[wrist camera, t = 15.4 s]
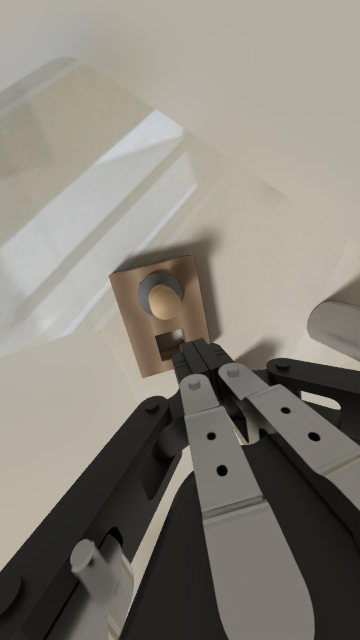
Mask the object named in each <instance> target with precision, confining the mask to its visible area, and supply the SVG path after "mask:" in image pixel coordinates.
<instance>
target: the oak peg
mask: <svg viewBox="0 0 360 640" xmlns="http://www.w3.org/2000/svg"><path fill="white" fill-rule="evenodd" d="M138 301H139V304H140V306H141V307H142V309H143V310H144V311H145V312H146V313H148V314H150V315H152V316H155V317H157V318H159V319H162V320H168V319H171V318H173V317H175V316H176V315H177V314H178V312H179V311H180V308H181V301H182V289H181V286H180V284H179V282H178V281H177V280H176V279H175V278H174V277H172V276H171V275H169V274H166V273H161V272H158V273H153V274H150V275H148V276H147V277H146V278H145V279H144V280H143V281H142V282H141V284H140V286H139V289H138Z"/></svg>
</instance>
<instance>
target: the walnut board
mask: <svg viewBox="0 0 360 640" xmlns="http://www.w3.org/2000/svg"><path fill="white" fill-rule="evenodd" d="M158 272H161V273H166V274H169V275H171V276H172V277H174V278H175V279H176V280H177V281H178V282H179V284H180V286H181V289H182V301H181V308H180V311H179V312H178V314H177V315H176V316H175V317H173V318H171V319H168V320H162V319H159V318H157V317H155V316H152V315H150V314H148V313H146V312H145V311H144V310H143V309H142V307H141V306H140V304H139V301H138V289H139V286H140V282H142V281H143V280H144V279H145V278H146V277H147V276H148V275H150V274H153V273H158ZM109 279H110V282H111V285H112V288H113V291H114V294H115V297H116V300H117V303H118V306H119V309H120V312H121V315H122V318H123V321H124V324H125V327H126V330H127V333H128V336H129V339H130V342H131V345H132V348H133V351H134V354H135V357H136V360H137V363H138V366H139V369H140V372H141V375H142V378H145V377H149V376H152V375H155V374H159V373H162V372H165V371H168V370H172V369H174V367H173V363H172V357H173V354H176V353H179V352H181V350H180V346H178V347H175V348H171V349H168V350H164V351H161V352H160V351H159V348H158V344H157V341H156V337H155V336H156V335H160V334H164V333H167V332H171V331H174V330H178V329H181V331H182V335H183V339H184V343H186V342H189V341H192V340H196V339H199V338H204V340H205V341H206V342H207V344H210V339H209V334H208V329H207V323H206V318H205V313H204V307H203V302H202V297H201V292H200V286H199V281H198V276H197V270H196V265H195V260H194V255H187V256H183V257H178V258H174V259H170V260H166V261H162V262H158V263H153V264H149V265H145V266H141V267H137V268H133V269H128V270H124V271H120V272H116V273H112V274H110V275H109Z"/></svg>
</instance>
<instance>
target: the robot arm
mask: <svg viewBox="0 0 360 640" xmlns="http://www.w3.org/2000/svg"><path fill="white" fill-rule="evenodd" d="M308 333H309V335H310V336H311V338H313V339H314V340H316V341H318V342H320V343H322V344H324V345H326V346H328V347H330V348H332V349H334V350H336V351H339V352H341V353H343V354H345V355H347V356H349V357H351V358H353V359H355V360H357V361H359V362H360V306H357V305H353V304H348V303H342V302H338V301H326V302H324V303H322V304H320V305H319V306H317V307H316V309H315V310H314V311H313V312H312V314H311V316H310V318H309V321H308ZM179 345H180V350H181V352H179V353H176V354H173V357H172V363H173V367H174V370H175V374H176V378H177V381H178V385H179V390H178V391H177V393H176V394H175V395H174V396H172V397H171V398H169V399H166V398H165V397H162V396H153V397H150V398H147V399H146V400H144V401H143V402H141V403H140V405H139V406H138V407H137V408H136V409H135V411H134V412H133V413H132V414H131V415H130V417H129V418H128V419H127V420H126V421H125V423H124V424H123V425H122V426H121V427H120V429H119V430H118V431H117V432H116V433H115V435H114V436H113V437H112V438H111V439H110V441H109V442H108V443H107V444H106V445H105V447H104V448H103V449H102V450H101V452H100V453H99V454H98V455H97V456H96V458H95V459H94V460H93V461H92V462H91V464H90V465H89V466H88V467H87V468H86V470H85V471H84V472H83V473H82V474H81V476H80V477H79V478H78V479H77V480H76V482H75V483H74V484H73V485H72V486H71V488H70V489H69V490H68V491H67V492H66V494H65V495H64V496H63V497H62V498H61V500H60V501H59V502H58V503H57V504H56V506H55V507H54V508H53V509H52V510H51V512H50V513H49V514H48V516H46V518H45V519H44V520H43V521H42V522H41V524H40V525H39V526H38V527H37V528H36V530H35V531H34V532H33V533H32V534H31V536H30V537H29V538H28V539H27V540H26V542H25V543H24V544H23V545H22V546H21V548H20V549H19V550H18V551H17V553H16V554H15V555H14V556H13V557H12V558H11V560H10V561H9V562H8V563H7V564H6V566H5V567H4V568H3V569H2V570H1V572H0V640H360V371H356V370H350V369H344V368H338V367H333V366H328V365H322V364H316V363H310V362H305V361H299V360H293V359H288V358H276V359H272V360H270V361H269V362H268V363H267V364H266V369H265V370H250V369H249V368H248V367H246V366H245V365H243V364H241V363H235V362H234V361H233V360H232V359H231V357H230V356H229V355H228V354H227V353H226V352H225V351H224V350H223V349H222V348H221V346H220V345H218V344H215V343H210V344H207V342H206V341H205V340H204V338H199V339H196V340H192V341H189V342H186V343H182V344H179ZM301 391H304V392H309V393H312V394H316V395H320V396H324V397H328V398H331V399H333V400H335V401H337V402H338V403H339V405H340V406H341V409H340V410H335V409H331V408H328V407H325V406H321V405H318V404H314V403H311V402H307V401H303V400H301ZM224 409H225V410H224ZM225 411H226V412H225ZM233 429H234V430H235V432H236V433H237V435H238V437H239V438H240V439H241V441H242V443H243V444H244V445H240V443H239V441H238V439H237V437H236V434H235V432H234V430H233ZM188 445H190V450H191V456H192V462H193V467H194V471H192V472H191V473H190V474H189V475H188V477H187V478H186V479H185V480H184V482H183V483H182V484H181V486H180V487H179V489H178V491H177V493H176V495H175V497H174V499H173V502H172V505H171V507H170V509H169V512H168V514H167V517H166V520H165V522H164V525H163V527H162V530H161V532H160V535H159V537H158V540H157V542H156V545H155V547H154V550H153V552H152V555H151V558H150V560H149V563H148V565H147V568H146V570H145V573H144V575H143V578H142V580H141V583H140V585H139V588H138V591H137V593H136V596H135V598H134V601H133V603H132V606H131V608H130V611H129V613H128V616H127V618H126V615H127V612H128V609H129V606H130V603H131V599H132V595H133V588H134V575H133V570H132V567H131V565H130V564H131V562H132V560H133V558H134V556H135V554H136V552H137V550H138V547H139V545H140V543H141V541H142V539H143V537H144V535H145V533H146V531H147V529H148V526H149V524H150V522H151V520H152V518H153V516H154V514H155V512H156V510H157V507H158V505H159V503H160V501H161V499H162V497H163V495H164V493H165V491H166V488H167V486H168V484H169V482H170V480H171V478H172V476H173V474H174V471H175V469H176V467H177V465H178V463H179V461H180V459H181V456H182V450H183V449H184V448H185V447H187V446H188ZM125 619H126V621H125Z"/></svg>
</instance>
